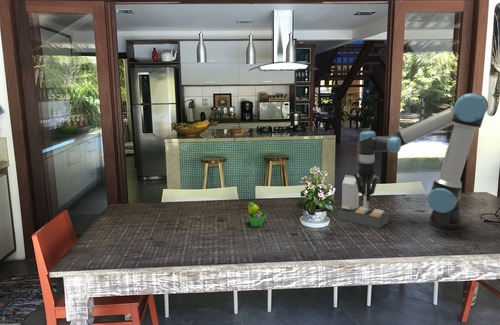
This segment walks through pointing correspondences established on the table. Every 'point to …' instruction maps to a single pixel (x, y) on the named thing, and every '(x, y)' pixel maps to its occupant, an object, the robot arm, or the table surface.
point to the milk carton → (350, 192)
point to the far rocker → (348, 207)
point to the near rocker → (377, 213)
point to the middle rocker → (362, 210)
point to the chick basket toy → (256, 215)
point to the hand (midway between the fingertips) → (365, 206)
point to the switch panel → (362, 218)
